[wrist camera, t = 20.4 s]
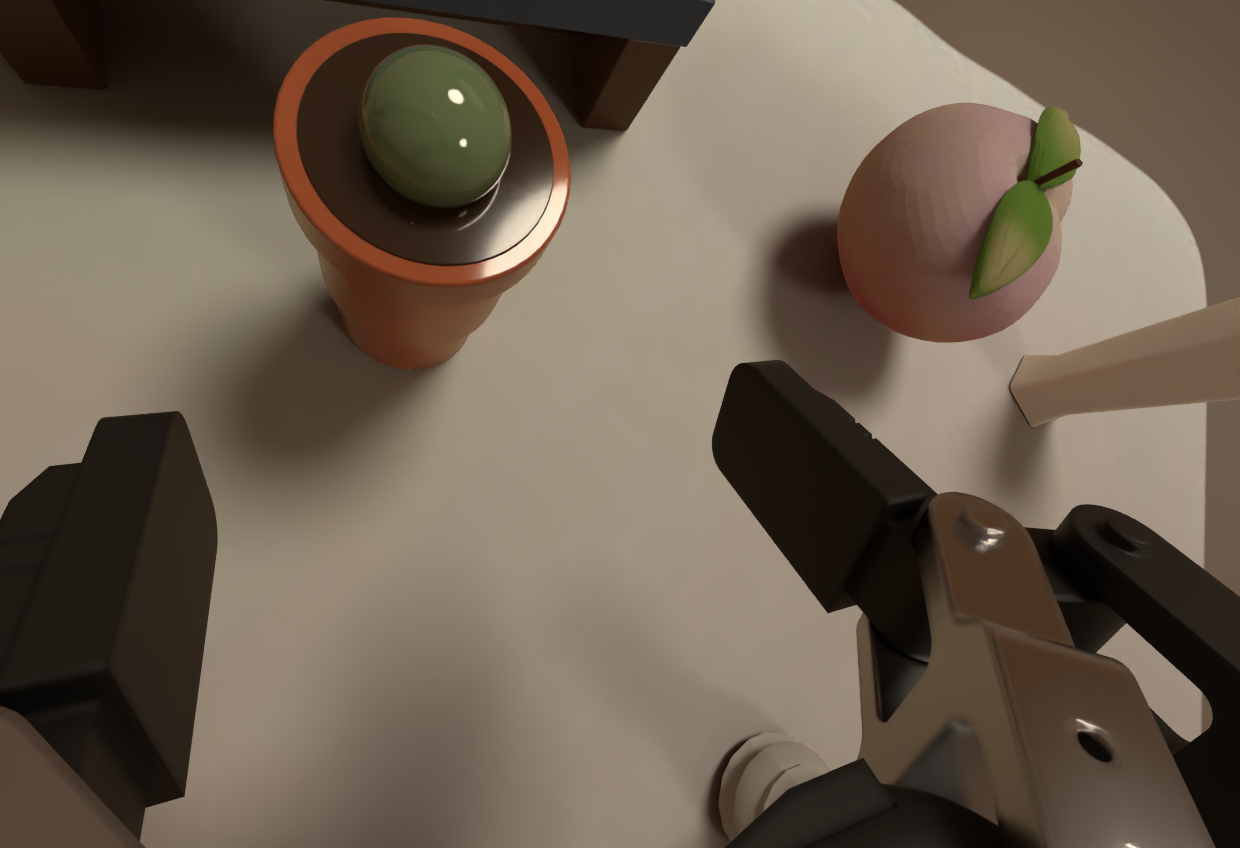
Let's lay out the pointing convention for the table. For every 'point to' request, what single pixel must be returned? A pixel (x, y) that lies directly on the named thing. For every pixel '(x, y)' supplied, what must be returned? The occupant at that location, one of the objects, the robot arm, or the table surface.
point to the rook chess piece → (763, 777)
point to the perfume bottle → (1138, 368)
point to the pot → (418, 180)
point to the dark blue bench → (562, 3)
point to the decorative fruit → (958, 220)
